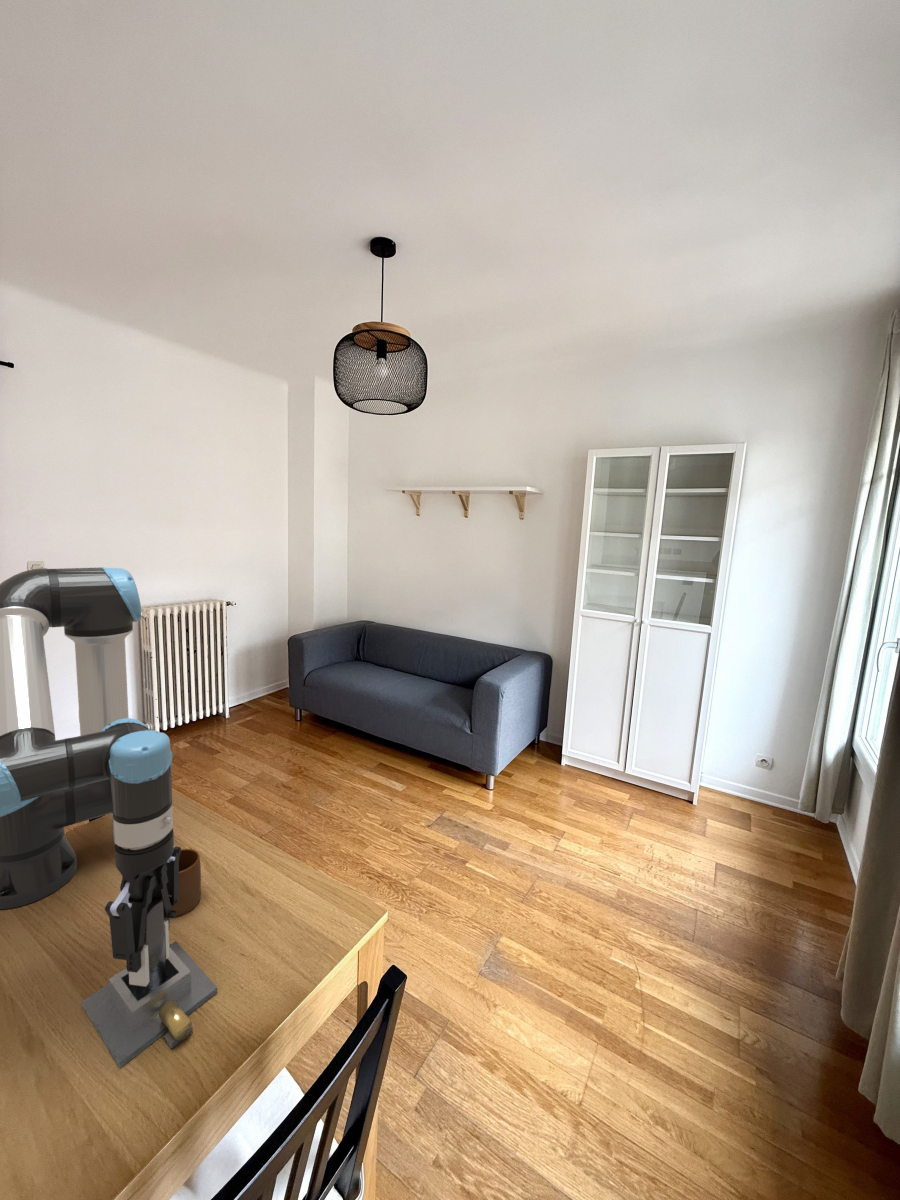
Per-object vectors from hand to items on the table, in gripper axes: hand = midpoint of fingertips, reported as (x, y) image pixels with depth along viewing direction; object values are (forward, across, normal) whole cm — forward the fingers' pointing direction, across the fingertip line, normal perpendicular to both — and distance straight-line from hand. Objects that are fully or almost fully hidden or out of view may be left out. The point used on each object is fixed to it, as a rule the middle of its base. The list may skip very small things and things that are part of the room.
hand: (150, 968), depth 75 cm
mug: (+6, +17, +9) cm, 21 cm away
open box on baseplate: (+6, -1, -2) cm, 6 cm away
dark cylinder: (+4, 0, 0) cm, 4 cm away
